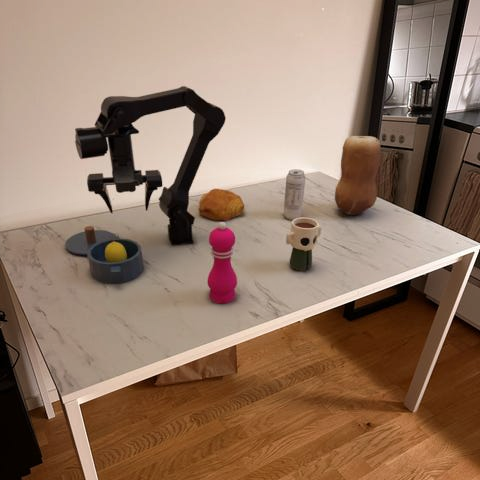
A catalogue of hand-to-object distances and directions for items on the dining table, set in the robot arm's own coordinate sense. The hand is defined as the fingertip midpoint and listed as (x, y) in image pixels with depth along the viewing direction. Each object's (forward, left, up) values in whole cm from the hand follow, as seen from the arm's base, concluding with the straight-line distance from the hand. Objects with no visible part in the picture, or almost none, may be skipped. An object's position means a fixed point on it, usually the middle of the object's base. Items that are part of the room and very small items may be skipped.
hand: (129, 211), depth 124 cm
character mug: (-44, +18, -12) cm, 49 cm away
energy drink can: (-52, -13, -12) cm, 55 cm away
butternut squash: (-73, -12, -12) cm, 75 cm away
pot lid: (+12, -6, -11) cm, 18 cm away
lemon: (+5, +10, -12) cm, 16 cm away
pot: (+5, +10, -12) cm, 16 cm away
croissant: (-29, -21, -12) cm, 38 cm away
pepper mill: (-20, +28, -12) cm, 37 cm away
